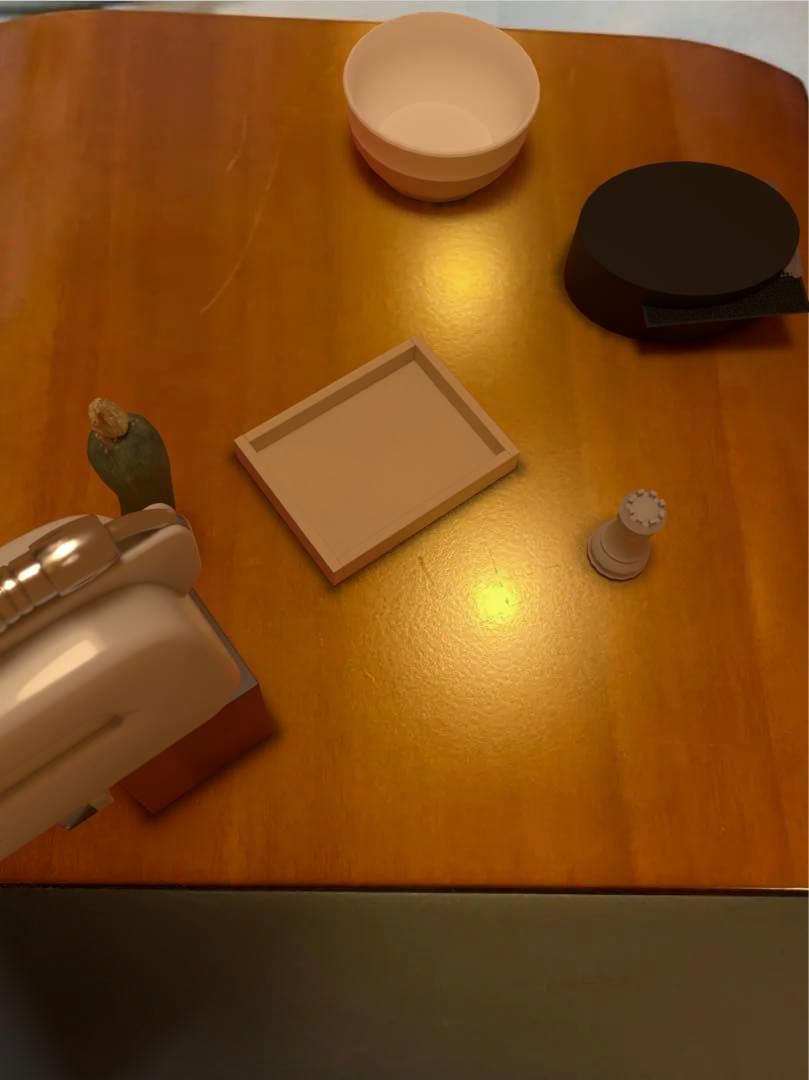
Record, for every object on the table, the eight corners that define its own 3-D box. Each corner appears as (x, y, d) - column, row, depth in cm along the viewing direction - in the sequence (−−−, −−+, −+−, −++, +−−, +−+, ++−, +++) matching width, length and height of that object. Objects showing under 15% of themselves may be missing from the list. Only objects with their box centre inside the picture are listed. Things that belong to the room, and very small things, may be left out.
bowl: (361, 237, 83) (363, 165, 75) (327, 97, 89) (326, 19, 82) (544, 214, 85) (564, 142, 78) (499, 79, 91) (513, 2, 84)
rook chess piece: (651, 580, 72) (686, 535, 64) (590, 583, 71) (619, 538, 64) (640, 524, 73) (673, 474, 66) (581, 527, 73) (608, 477, 66)
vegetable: (154, 505, 72) (92, 344, 53) (206, 531, 71) (161, 376, 53) (120, 556, 70) (44, 406, 52) (173, 582, 69) (115, 440, 51)
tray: (333, 586, 70) (333, 572, 68) (236, 457, 74) (233, 439, 71) (515, 468, 75) (520, 451, 72) (415, 352, 78) (417, 332, 76)
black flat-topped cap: (549, 225, 86) (561, 163, 79) (753, 207, 86) (783, 144, 79) (577, 370, 80) (593, 317, 74) (794, 349, 81) (831, 295, 74)
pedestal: (153, 814, 63) (114, 780, 52) (82, 701, 66) (31, 646, 55) (272, 732, 66) (259, 683, 55) (200, 627, 68) (173, 559, 57)
